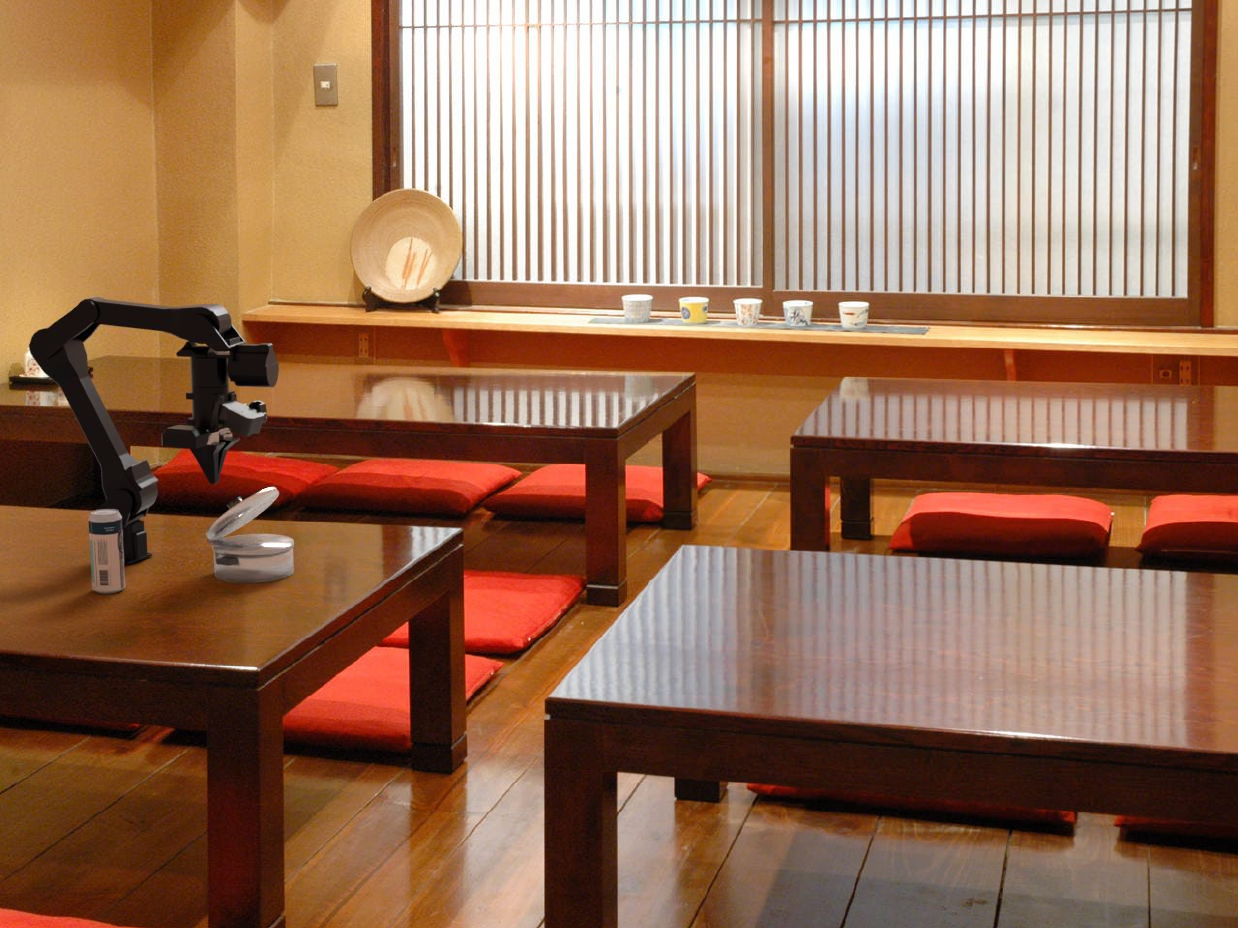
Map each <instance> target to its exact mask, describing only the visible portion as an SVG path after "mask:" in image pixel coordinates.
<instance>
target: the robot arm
mask: <svg viewBox="0 0 1238 928" xmlns="http://www.w3.org/2000/svg"><path fill="white" fill-rule="evenodd" d="M101 325H104V326H112V327H121V328H130V329H136V330H137V329H138V330H147V331H148V330H149V331H157V332H163V333H167V334H170V335H172V336H174V337H176V338H179V339H181V340H185V341H186V342H185V344H184V345H183V346H182V347H181V348H180V349H179V350H178V351H176V354H175V355H176V356H177V357H179V358H189V359H190V365H189V366H190V387H191V391H188V392H185V400H191V410H192V412H191V413H192V417H189V418H186V425H184V424H177V425H173V426H169V427H166V428H164V430H163V431H162V432H161V446H162V447H169V448H177V449H178V448H179V449H189V450H190V451H191V454H192V455H193V457H194V458H195V460H196V461H197V463H198V465H199V467H200V468H201V470H202V472H203V475H205V478H206V480H207V481H208V483H209V484H211V485H216V484H218V483H219V481H220V477H221V473H222V470H223V466H224V463H225V459H226V457H227V454H228V451H229V449H230V448H231V447H232V446H233V445H234V444H236V443H237V442H239V441H240V439H241V438H240V437H245V438H248V437H251V435H254V434H255V435H258V434H260V431H261V428H262V425H263V423H267V422H268V417H267V416H268V415H267V414H268V413H267V412H268V411H267V406H266V405H267V404H266V402H264V401H262V400H253V401H251V402H250V403H249V404H248V403H247V402H246V403H241V402H239V401H238V399H237V396H238V394H237V393H236V392H235V390H230V382H233V383H234V384H235V386H236V387H243V388H245V387H248V388H249V387H250V388H274V387H275V386H276V385H277V383H278V378H279V373H280V371H279V370H280V369H279V368H280V367H279V366H280V365H279V364H280V363H279V362H278V360H277V355H276V352H275V351H274V346H273V343H271V342H270V343H269V342H268V343H267V342H263V343H259V344H258V343H247V341H246V340H245V339H244V337H243V336H242V335H241V334H240V332H239V331H238V330H237V329H236V327H235V326H234V325H233V323H232V317H231V315H230V313H229V311H228V310H227V309H226V307H224V306H223V305H221V304H218V303H203V304H201V303H200V304H190V305H179V306H167V305H159V304H149V303H140V302H133V301H132V302H131V301H123V300H115V299H106V298H104V297H101V296H98V297H97V296H94V297H89V298H85V299H82V300H81V301H80V302H79V303H78V304H77V305H75V307H73V308H72V309H71V310H70V311H69V312H67V313H66V314H64V315H63V316H62V317H60V318H59V319H57V320H56V321H55V322H53V323H52V324H51V325H50V326H49V327H45V328H40V329H38V330H37V331H35V332H34V333H33V335H32V336H31V338H30V341H29V343H28V349H29V350H28V351H29V353H30V355H31V357H32V358H33V359H34V361H35V362H36V363H37V365H38V366H39V368H40V369H41V371H43V373H44V374H45V375H46V376H47V377H48V378H50V379H51V380H52V381H53V382H55V383H56V384H57V385H58V387H59V388H60V389H61V391H62V393H63V395H64V398H65V399H66V401H67V403H68V405H69V407H70V409H71V411H72V413H73V415H74V417H75V418H76V421H77V422H78V424H79V426H80V429H81V431H82V432H83V435H84V436H85V438H86V440H87V442H88V445H89V446H90V448H91V450H92V452H93V454H94V457H95V458H96V460H97V462H98V464H99V466H100V470H101V472H100V474H101V475H100V476H101V487H102V490H103V494H104V496H105V499H106V500H105V501H104V502H103V503H102V504H101V505H100V506H99V507H98V508H97V509H96V510H101V509H115V510H118V511H119V513H120V515H121V516H122V532H123V551H124V566H125V565H131V564H134V563H136V562H138V561H142V560H145V559H148V558H150V557H153V553H152V552H148V538H147V537H148V536H147V535H148V533H147V531H146V530H145V521H144V520H141V519H142V518H145V517H146V516H147V515H148V511H149V508H150V507H151V506H153V505H154V503H155V502H156V501H157V500H156V499H157V496H158V494H159V489H158V486H157V483H158V482H159V479H158V478H157V477H156V476H155V475H154V473H153V472H152V470H151V466H150V464H149V462H148V459H142V460H141V461H139V462H138V461H137V460H136V459H135V458H134V457H132V456H131V455H130V453H129V452H128V450H127V448H126V445H125V444H124V442H123V440H122V437H121V436H120V433H119V432H118V431H117V428H116V426H115V424H114V422H113V420H112V418H111V416H110V414H109V413H108V410H107V408H106V406H105V404H104V402H103V400H102V398H101V396H100V395H99V393H98V390H97V388H96V387H95V384H94V383H93V380H92V378H91V376H90V375H89V368H88V367H89V365H88V364H89V363H88V353H87V350H86V348H85V342H86V341H88V339H89V338H91V337H92V336H93V335H94V333H95V332H96V330H98V328H99V327H100V326H101ZM231 431H233V432H235V433H236V434H237V435H239V436H240V437H236V436H235V437H234V436H233V432H231Z"/></svg>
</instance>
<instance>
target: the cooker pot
mask: <svg viewBox="0 0 1238 928" xmlns="http://www.w3.org/2000/svg"><path fill="white" fill-rule="evenodd" d="M294 547H295V541H294V539H293V538H292V537H289V536H287V535H283V534H276V533H275V534H273V533H247V534H244V533H243V534H237V535H230V536H227V537H226V536H225V537H223V538H222V539H219V540H217V541H215V542H213V543H211V549H212V551H213V563H214V564H213V565H214V566H213V567H214V570H213V571H214V577H215V578H216V579H218V580H220V581H223V582H228V583H236V584H259V583H260V584H261V583H269V582H275V581H278V580H279V581H280V580H283V579H285V578H289V577H290V576H292V575H293V574H294V572H295V571H294V568H295V567H294V566H295V565H294Z"/></svg>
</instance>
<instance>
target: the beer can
mask: <svg viewBox="0 0 1238 928" xmlns="http://www.w3.org/2000/svg"><path fill="white" fill-rule="evenodd" d="M87 520H88V522H87V523H88V537H89V538H88V539H89V554H90V555H89V556H90V571H91V590H93V591H95V592H96V593H98V594H103V595H107V594H108V595H109V594H116V593H119V592H121V591H122V590H124V589H125V588H126V576H125V575H126V574H125V573H126V572H125V571H126V570H125V564H124V551H123V532H122V516H121V515H120V513H119V511H118V510H115V509H101V510H97V509H96V510H92V511H91V513H90V515H89V516H88V519H87Z"/></svg>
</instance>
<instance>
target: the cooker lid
mask: <svg viewBox="0 0 1238 928" xmlns="http://www.w3.org/2000/svg"><path fill="white" fill-rule="evenodd" d="M279 495H280V491H279V490H278V489H277V487H275V486H270V487H267V488H264V489H262V490H259V491H257V492H256V493H253V494H252V495H249V496H248V497H246V498H244V499H243V498H242V497H241V496H237V497H236V498H233V499H232V500H230V501H229V502H228V503H227V504H226V506H227V507H228V508H229V509H228V510H227V511H226V512H224V513H223V514H222V515H220V516H219V517H218V518H217V519H215V521H214V522H213V523H212V524H211V525H210V526H209V527H208V529H207V530H206V531H205V536H206V537H207V540H206V541H207V543H208V544H211V545H212V544H213V543H214V542H215V541H217V540H219V539H222V538H225V537H226V536H227V535H230V534H231V533H234V532H235V531H237V530H238V529H240V528H242V527H244V526H245V525H246V524H248V523H250V522H251V521H252V520H254V519H256V517H258V516H259V515H261V514H262V513H263V512H264V511H266V510H267V509H268V508H269V507H270V506H271V505H272V504H273V503H274V502H275V501H276V500H277V498H278V497H279Z"/></svg>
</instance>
